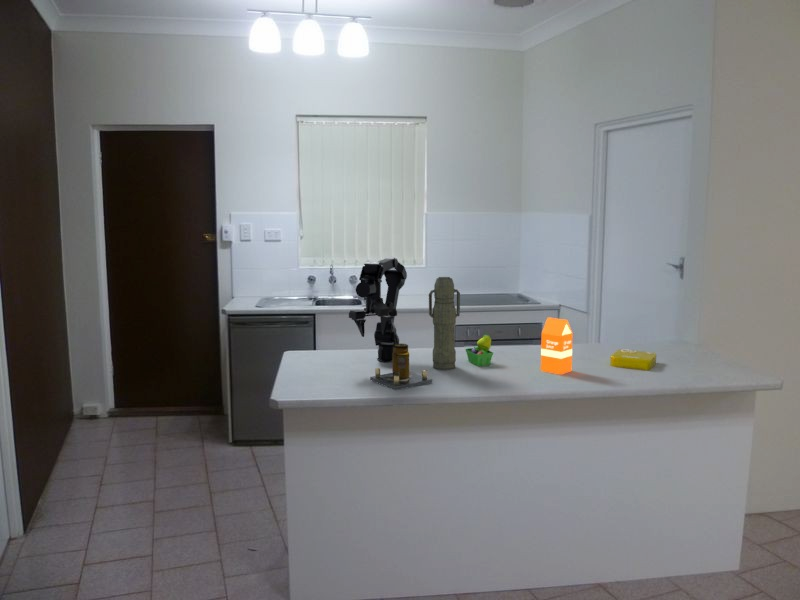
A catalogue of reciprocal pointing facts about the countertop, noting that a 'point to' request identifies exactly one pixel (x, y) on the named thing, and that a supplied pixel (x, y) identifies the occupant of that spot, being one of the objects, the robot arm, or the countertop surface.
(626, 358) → the element tile
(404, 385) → the chassis plate
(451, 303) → the thermos
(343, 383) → the countertop surface
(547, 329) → the orange juice
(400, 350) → the condiment
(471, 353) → the fruit basket
